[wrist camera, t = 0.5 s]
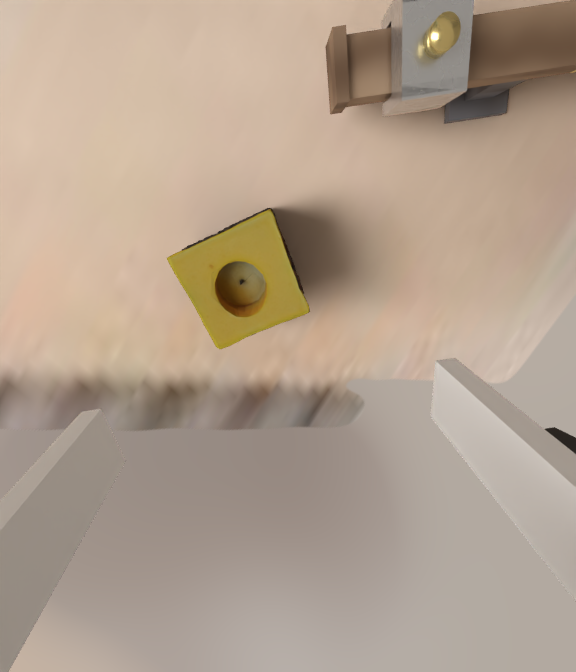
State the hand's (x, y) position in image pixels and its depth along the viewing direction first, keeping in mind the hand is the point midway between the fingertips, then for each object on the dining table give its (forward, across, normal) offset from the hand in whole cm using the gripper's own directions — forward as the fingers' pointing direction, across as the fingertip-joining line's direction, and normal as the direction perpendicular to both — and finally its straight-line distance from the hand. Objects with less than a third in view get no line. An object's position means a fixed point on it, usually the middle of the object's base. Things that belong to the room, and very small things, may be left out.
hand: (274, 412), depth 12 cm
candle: (+27, -2, +1) cm, 27 cm away
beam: (+27, +24, +17) cm, 39 cm away
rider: (+21, +15, +17) cm, 31 cm away
